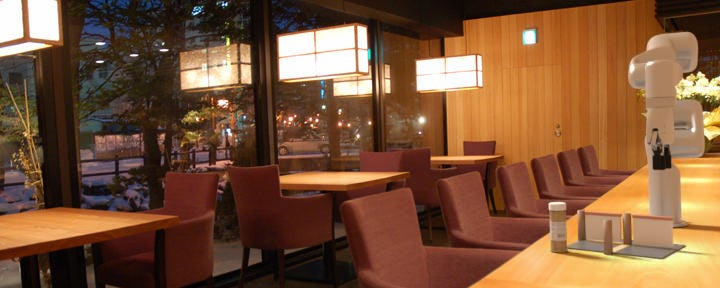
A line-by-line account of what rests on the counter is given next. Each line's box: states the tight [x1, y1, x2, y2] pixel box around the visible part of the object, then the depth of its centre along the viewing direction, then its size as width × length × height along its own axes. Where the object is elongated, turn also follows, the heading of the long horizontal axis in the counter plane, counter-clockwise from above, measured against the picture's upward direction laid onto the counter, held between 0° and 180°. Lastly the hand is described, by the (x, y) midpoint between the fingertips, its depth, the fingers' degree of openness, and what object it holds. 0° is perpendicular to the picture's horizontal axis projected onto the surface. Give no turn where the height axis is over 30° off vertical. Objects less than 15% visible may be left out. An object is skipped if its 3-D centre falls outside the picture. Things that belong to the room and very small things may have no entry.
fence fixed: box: [576, 209, 633, 256], centre depth 171 cm, size 16×15×9 cm
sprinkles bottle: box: [548, 201, 568, 254], centre depth 167 cm, size 5×5×13 cm
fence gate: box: [631, 214, 674, 247], centre depth 167 cm, size 10×2×8 cm, turn 47°
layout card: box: [567, 238, 686, 260], centre depth 169 cm, size 20×26×1 cm
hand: (662, 168), depth 171 cm, fingers open, 4 cm apart
